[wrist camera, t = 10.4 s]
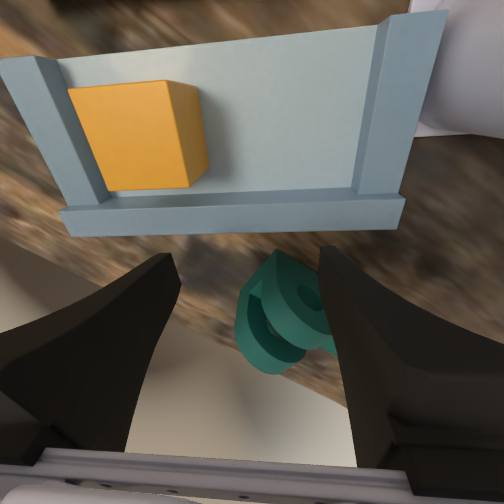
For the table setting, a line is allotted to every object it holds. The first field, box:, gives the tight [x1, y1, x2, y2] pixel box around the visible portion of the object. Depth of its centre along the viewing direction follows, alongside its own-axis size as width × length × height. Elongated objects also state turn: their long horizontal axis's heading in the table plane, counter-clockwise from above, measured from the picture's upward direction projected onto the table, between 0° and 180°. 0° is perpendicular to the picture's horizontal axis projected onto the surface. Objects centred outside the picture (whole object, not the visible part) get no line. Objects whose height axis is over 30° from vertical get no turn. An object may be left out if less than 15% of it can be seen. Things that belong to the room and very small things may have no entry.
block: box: [68, 79, 210, 191], centre depth 13 cm, size 4×4×4 cm
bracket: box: [234, 249, 337, 375], centre depth 23 cm, size 18×7×8 cm, turn 58°
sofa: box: [0, 9, 449, 237], centre depth 15 cm, size 22×10×6 cm, turn 94°
